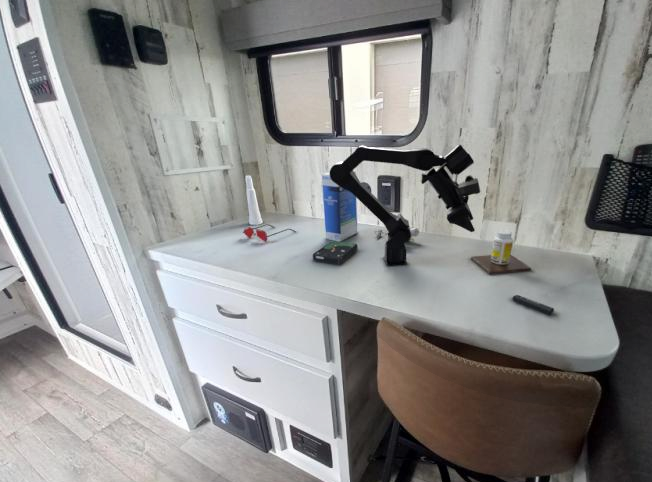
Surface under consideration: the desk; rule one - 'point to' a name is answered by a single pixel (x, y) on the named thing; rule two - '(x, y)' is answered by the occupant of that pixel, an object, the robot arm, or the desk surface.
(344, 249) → the disk drive
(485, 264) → the walnut board
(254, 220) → the cosmetic bottle
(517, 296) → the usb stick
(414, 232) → the clip-on lamp
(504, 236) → the supplement bottle
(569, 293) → the desk surface
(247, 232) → the glasses
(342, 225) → the string lights box
